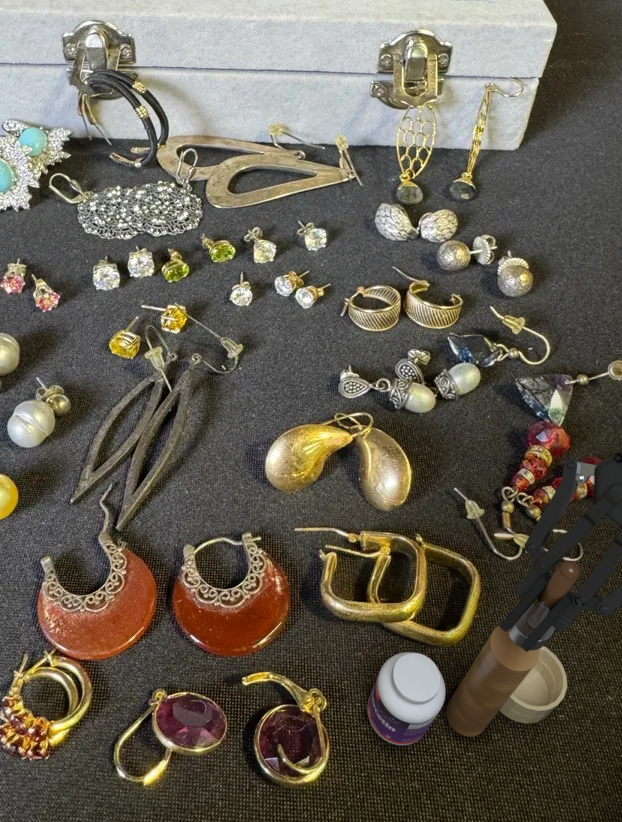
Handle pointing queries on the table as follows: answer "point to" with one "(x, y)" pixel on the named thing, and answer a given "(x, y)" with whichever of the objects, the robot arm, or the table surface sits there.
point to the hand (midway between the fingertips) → (516, 636)
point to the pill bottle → (406, 698)
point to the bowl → (538, 691)
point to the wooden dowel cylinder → (489, 683)
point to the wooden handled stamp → (545, 604)
